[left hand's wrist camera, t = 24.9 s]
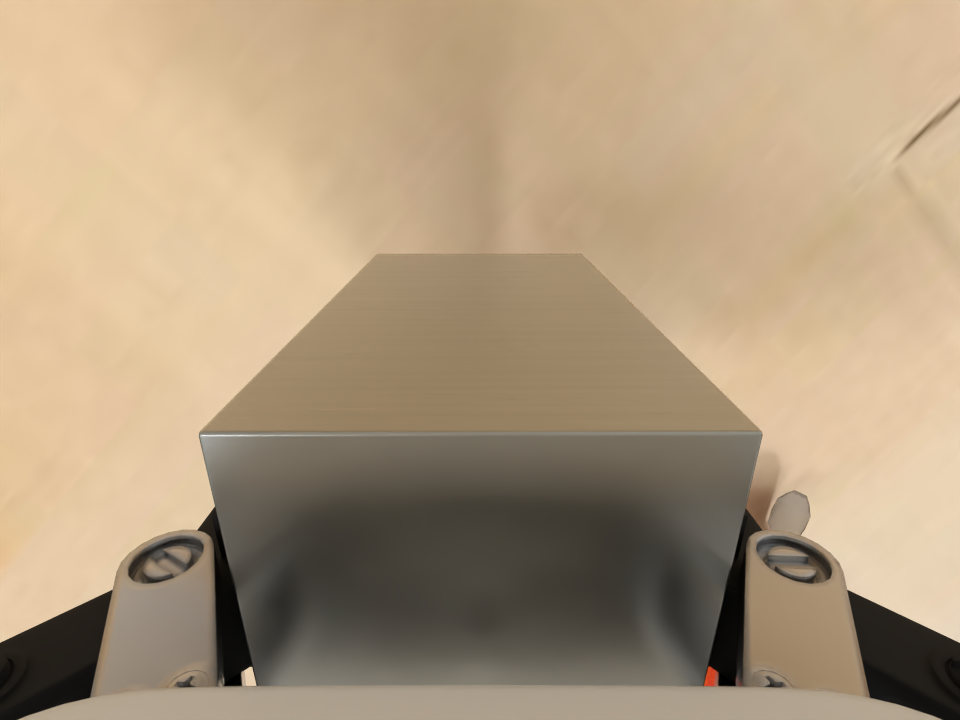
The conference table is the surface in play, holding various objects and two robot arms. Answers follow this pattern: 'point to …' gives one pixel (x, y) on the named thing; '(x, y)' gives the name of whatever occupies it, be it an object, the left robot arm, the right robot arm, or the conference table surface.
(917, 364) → the conference table surface
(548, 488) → the block
